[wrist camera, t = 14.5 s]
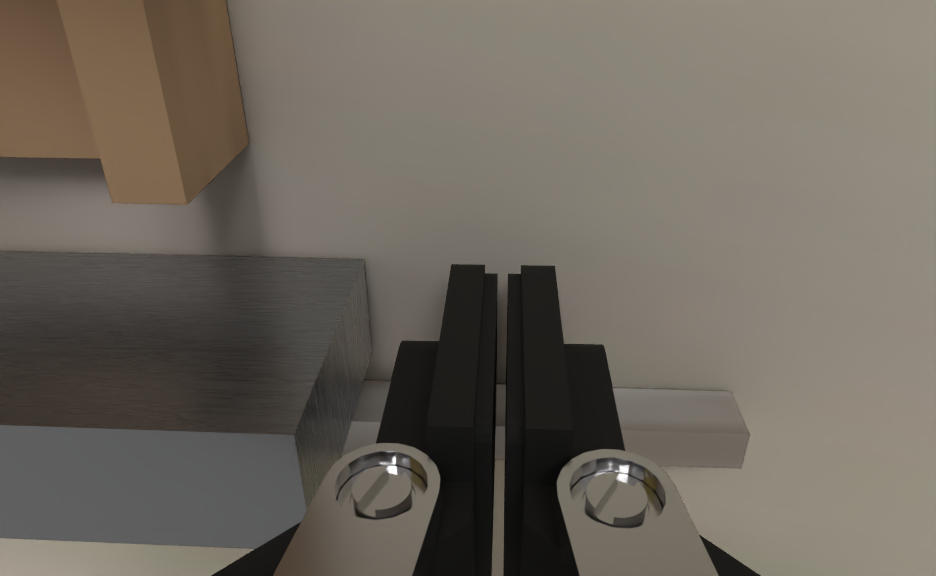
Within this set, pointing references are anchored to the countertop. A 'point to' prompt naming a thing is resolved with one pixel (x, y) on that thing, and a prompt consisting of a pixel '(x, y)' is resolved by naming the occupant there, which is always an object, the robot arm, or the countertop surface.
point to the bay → (214, 146)
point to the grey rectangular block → (173, 393)
